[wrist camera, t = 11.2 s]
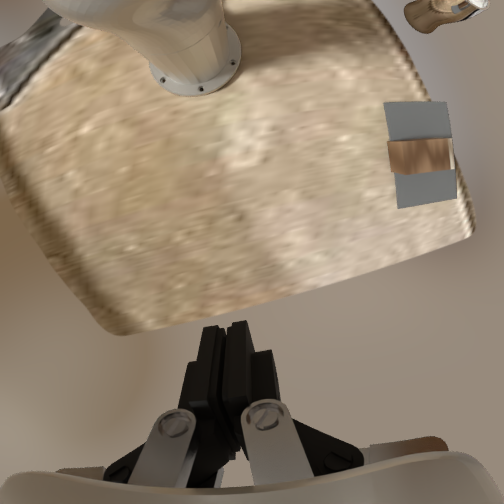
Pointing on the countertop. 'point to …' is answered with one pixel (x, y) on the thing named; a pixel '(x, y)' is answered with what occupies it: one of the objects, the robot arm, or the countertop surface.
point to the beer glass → (441, 12)
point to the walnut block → (421, 155)
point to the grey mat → (417, 127)
